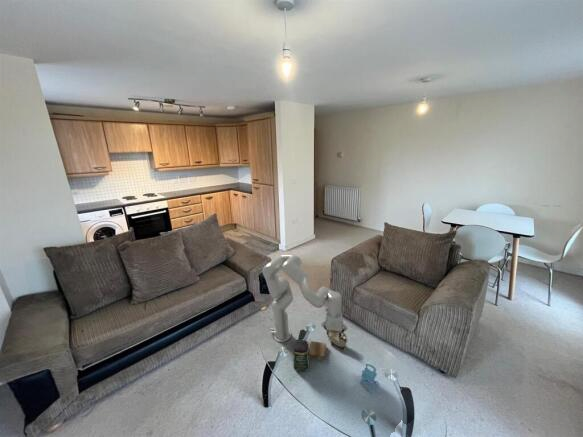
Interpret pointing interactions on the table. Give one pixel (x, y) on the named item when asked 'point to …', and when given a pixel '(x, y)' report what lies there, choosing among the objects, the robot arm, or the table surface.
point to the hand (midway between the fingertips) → (334, 335)
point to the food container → (340, 342)
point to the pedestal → (317, 350)
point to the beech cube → (334, 335)
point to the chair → (369, 376)
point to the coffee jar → (301, 355)
